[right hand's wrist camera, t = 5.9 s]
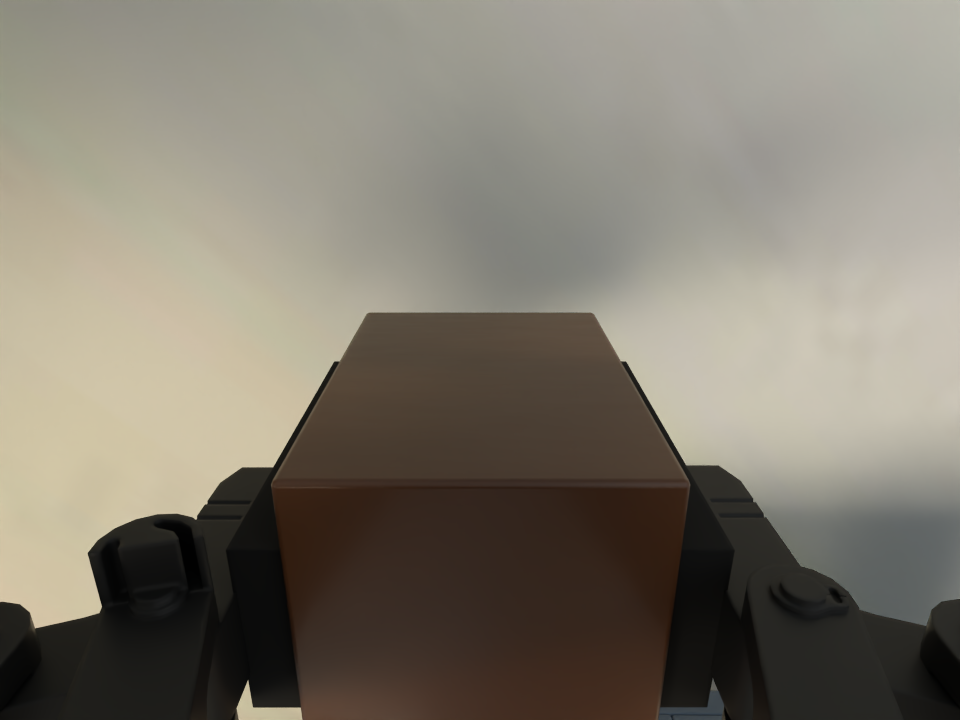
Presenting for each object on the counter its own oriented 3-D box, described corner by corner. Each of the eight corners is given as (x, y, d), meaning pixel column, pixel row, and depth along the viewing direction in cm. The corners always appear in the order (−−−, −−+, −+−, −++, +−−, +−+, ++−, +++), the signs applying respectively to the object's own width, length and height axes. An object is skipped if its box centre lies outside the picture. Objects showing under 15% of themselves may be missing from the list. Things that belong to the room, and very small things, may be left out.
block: (378, 506, 16) (308, 780, 9) (365, 311, 14) (267, 481, 8) (581, 506, 16) (652, 780, 9) (594, 311, 14) (693, 482, 8)
